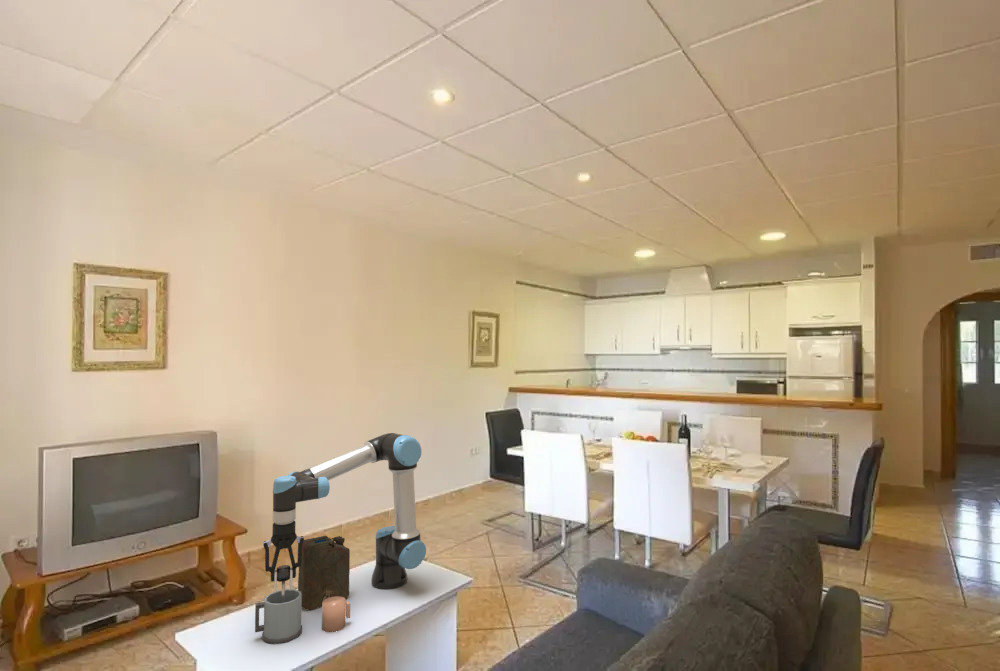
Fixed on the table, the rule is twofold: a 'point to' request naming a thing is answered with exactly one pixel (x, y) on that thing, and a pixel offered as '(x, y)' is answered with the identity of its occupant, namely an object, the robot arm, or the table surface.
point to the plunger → (283, 578)
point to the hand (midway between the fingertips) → (283, 588)
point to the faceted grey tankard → (280, 617)
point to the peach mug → (334, 613)
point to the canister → (323, 570)
